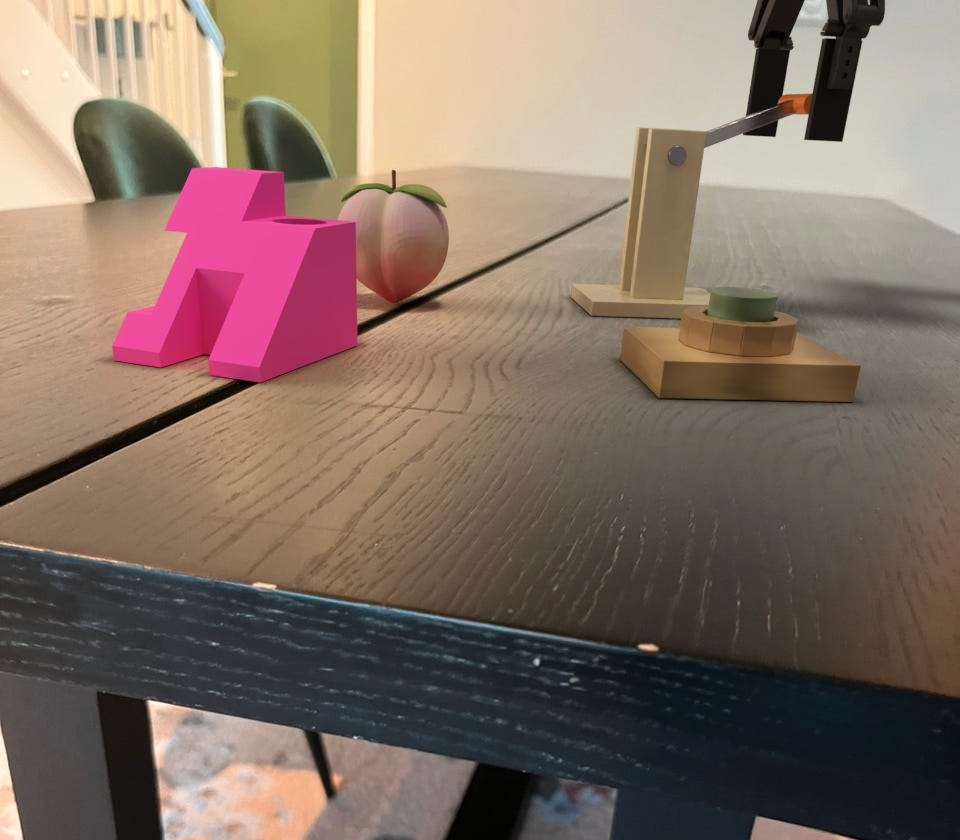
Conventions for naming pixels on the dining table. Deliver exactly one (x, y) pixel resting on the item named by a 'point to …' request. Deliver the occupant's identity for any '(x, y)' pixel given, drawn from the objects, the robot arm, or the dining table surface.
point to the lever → (760, 118)
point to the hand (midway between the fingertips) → (788, 139)
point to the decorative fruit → (397, 236)
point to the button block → (737, 360)
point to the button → (742, 304)
